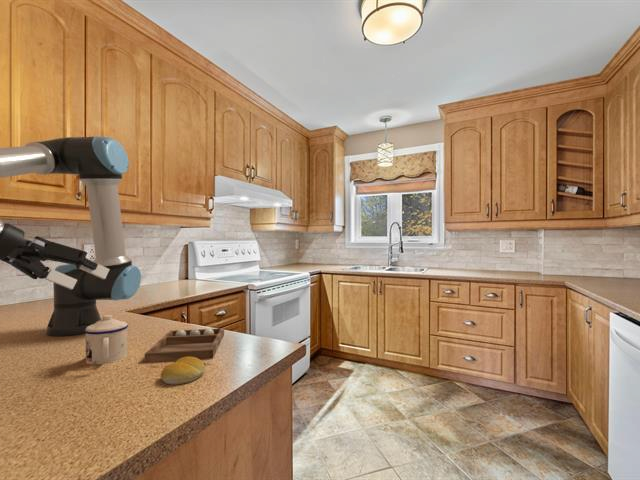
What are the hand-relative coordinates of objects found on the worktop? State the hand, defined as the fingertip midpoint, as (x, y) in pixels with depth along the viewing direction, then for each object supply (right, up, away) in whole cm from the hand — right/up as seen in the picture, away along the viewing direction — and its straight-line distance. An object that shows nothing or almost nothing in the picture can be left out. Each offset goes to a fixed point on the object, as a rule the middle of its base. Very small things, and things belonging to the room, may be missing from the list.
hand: (90, 279), depth 83 cm
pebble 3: (+26, -20, +14) cm, 35 cm away
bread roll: (+29, -21, -11) cm, 37 cm away
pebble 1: (+18, -20, +13) cm, 29 cm away
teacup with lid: (+7, -21, -3) cm, 22 cm away
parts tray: (+23, -20, +7) cm, 32 cm away
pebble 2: (+22, -20, +13) cm, 32 cm away
